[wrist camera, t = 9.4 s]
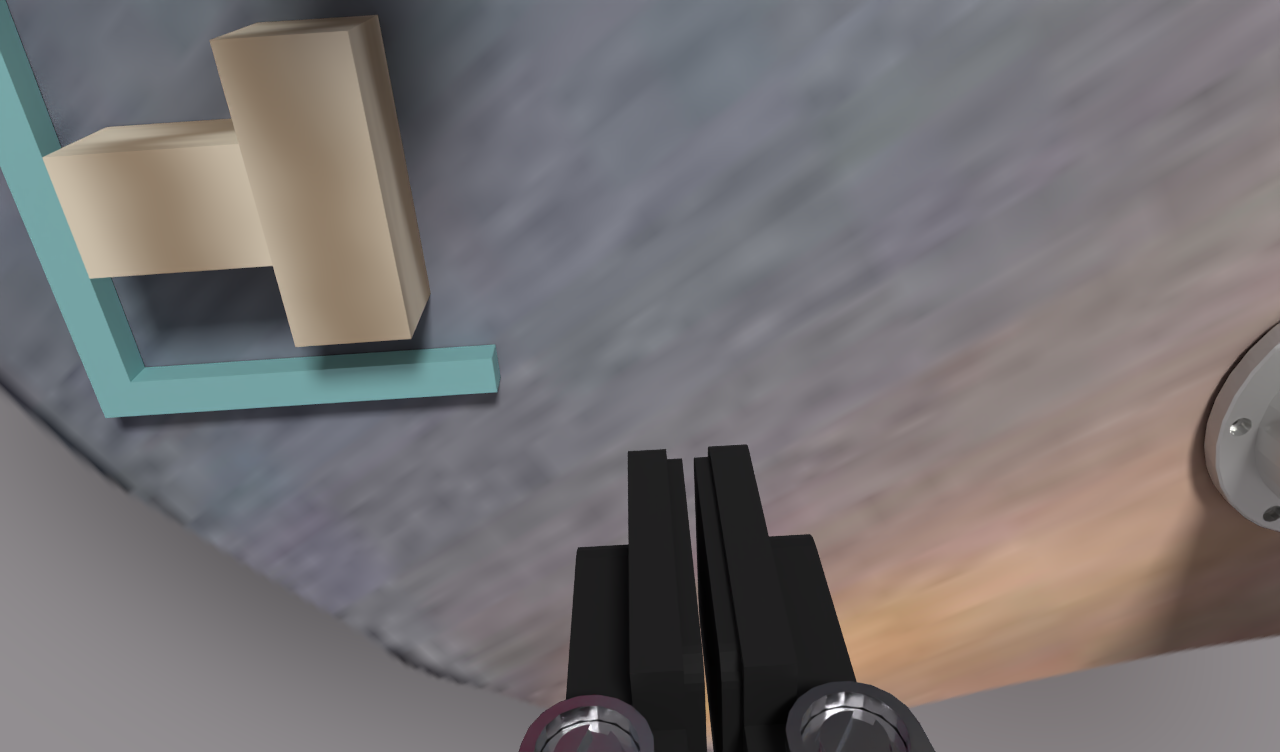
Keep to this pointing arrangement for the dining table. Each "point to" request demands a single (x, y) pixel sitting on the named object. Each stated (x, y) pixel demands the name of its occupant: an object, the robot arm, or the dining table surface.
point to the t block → (268, 184)
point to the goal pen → (16, 141)
